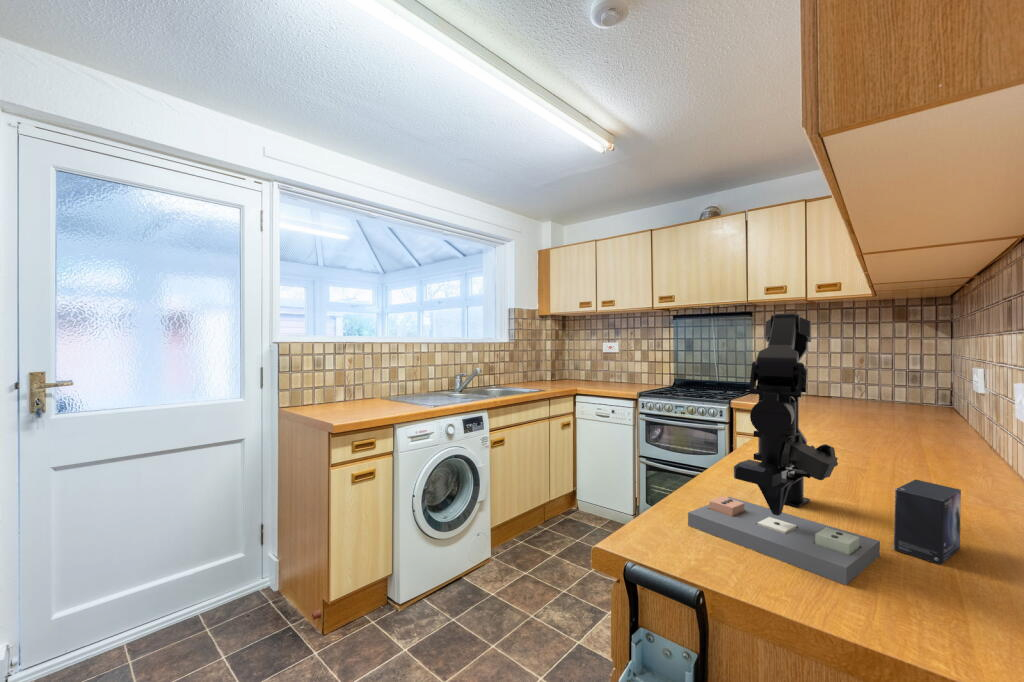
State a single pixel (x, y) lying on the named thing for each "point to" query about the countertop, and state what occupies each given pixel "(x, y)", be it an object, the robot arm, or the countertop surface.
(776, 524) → the one-dot button
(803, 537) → the button board
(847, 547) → the two-dot button
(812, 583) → the countertop surface
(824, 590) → the countertop surface
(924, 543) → the small box
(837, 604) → the countertop surface
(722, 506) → the three-dot button
